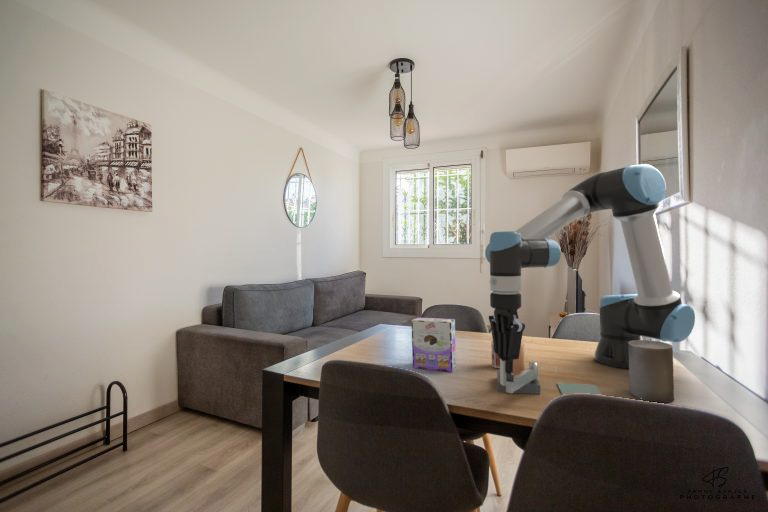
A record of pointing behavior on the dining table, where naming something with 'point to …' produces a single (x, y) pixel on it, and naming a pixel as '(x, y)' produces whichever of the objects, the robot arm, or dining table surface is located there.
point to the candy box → (434, 344)
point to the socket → (528, 388)
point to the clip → (522, 378)
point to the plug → (519, 362)
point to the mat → (577, 388)
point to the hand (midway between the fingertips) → (506, 384)
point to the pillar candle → (651, 370)
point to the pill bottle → (495, 357)
